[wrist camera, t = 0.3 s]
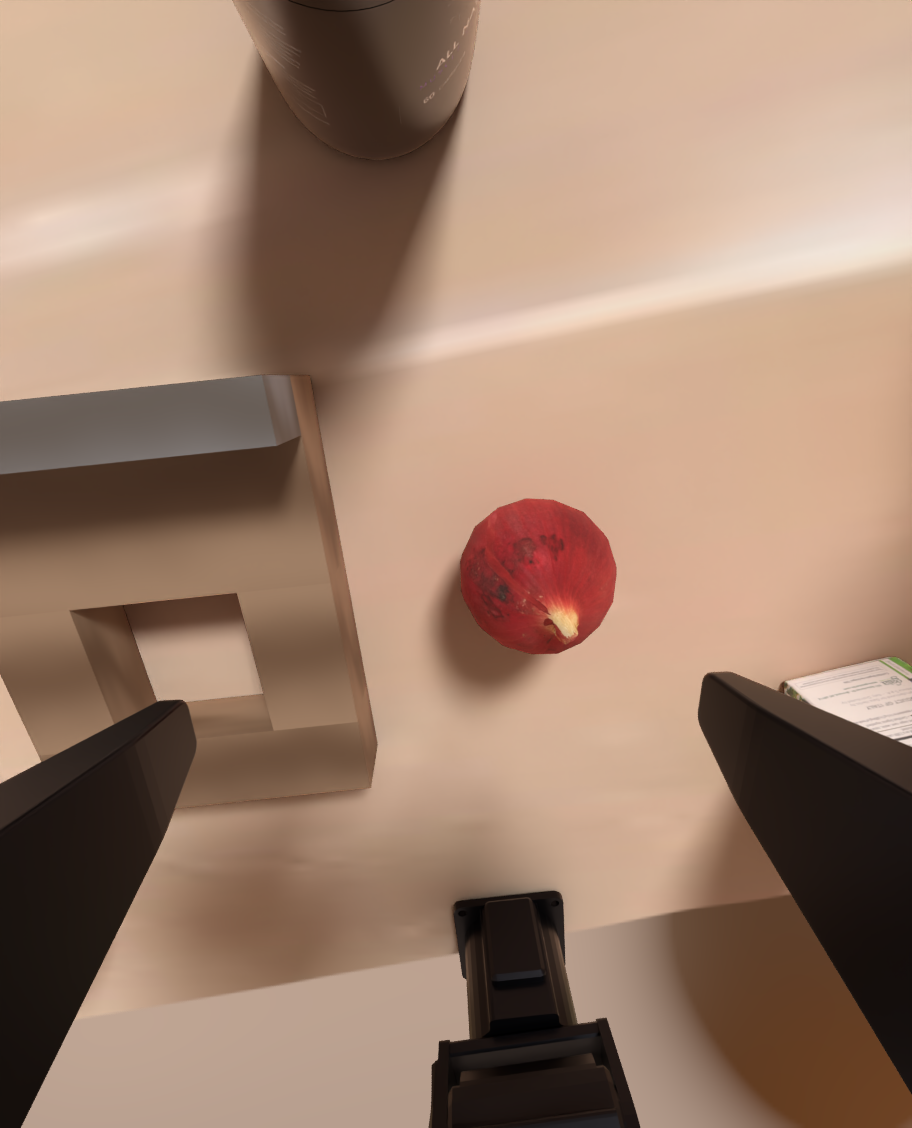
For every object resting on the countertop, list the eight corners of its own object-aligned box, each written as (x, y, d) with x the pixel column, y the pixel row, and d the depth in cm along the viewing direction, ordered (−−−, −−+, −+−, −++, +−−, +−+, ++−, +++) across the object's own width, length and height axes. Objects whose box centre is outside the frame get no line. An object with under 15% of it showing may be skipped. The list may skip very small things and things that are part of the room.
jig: (377, 744, 26) (362, 843, 21) (107, 772, 26) (19, 880, 21) (309, 375, 20) (261, 374, 15) (-44, 411, 20) (-229, 425, 15)
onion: (437, 578, 23) (439, 674, 16) (487, 461, 22) (515, 506, 14) (550, 620, 24) (602, 728, 17) (607, 510, 23) (693, 577, 15)
